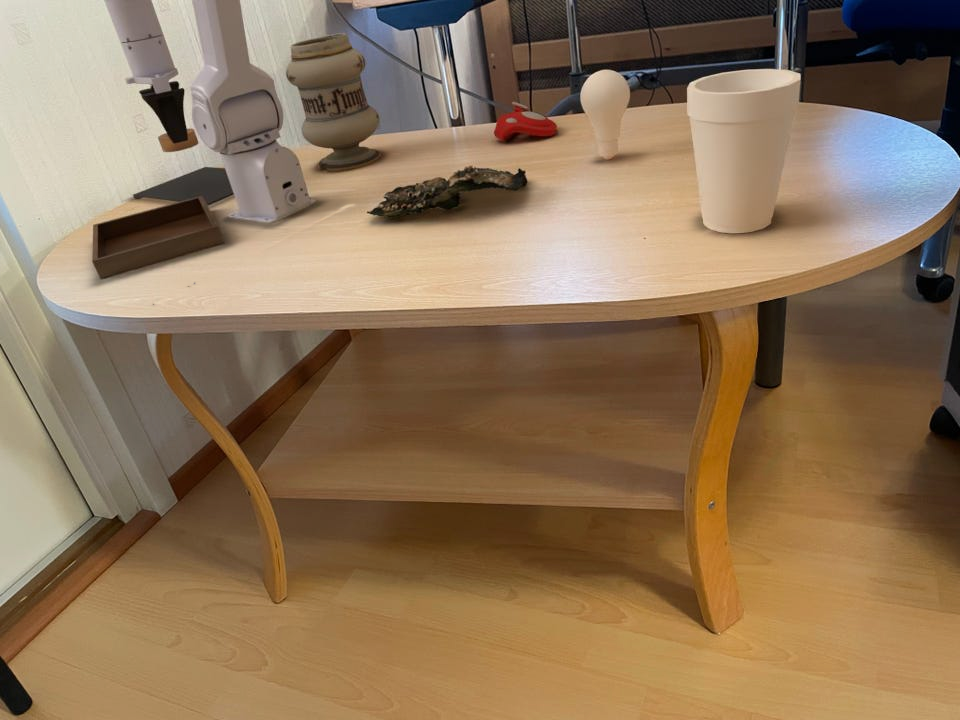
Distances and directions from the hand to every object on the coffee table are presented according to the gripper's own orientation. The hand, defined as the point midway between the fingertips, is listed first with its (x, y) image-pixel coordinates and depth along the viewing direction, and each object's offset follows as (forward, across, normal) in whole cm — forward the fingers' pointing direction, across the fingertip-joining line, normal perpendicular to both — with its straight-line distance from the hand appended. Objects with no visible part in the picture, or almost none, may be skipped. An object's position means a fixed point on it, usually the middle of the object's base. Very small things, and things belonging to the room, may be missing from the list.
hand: (178, 138), depth 103 cm
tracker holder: (+8, +17, +49) cm, 53 cm away
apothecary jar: (+9, +5, +23) cm, 25 cm away
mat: (+8, -3, +2) cm, 9 cm away
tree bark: (+8, +38, +26) cm, 46 cm away
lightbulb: (+8, +39, +48) cm, 63 cm away
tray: (+8, +20, -7) cm, 23 cm away
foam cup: (+8, +66, +44) cm, 80 cm away
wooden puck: (+1, 0, 0) cm, 1 cm away
